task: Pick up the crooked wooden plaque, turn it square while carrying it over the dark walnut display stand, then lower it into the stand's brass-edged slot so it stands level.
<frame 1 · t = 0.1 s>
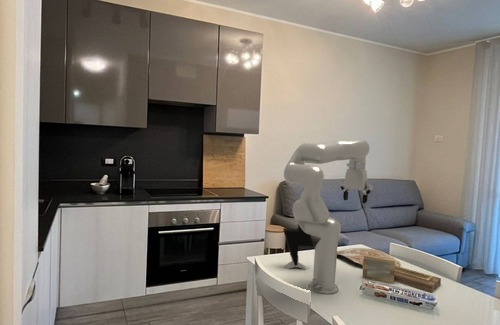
hand: (354, 201, 163), 37 cm above the table, tool pointing down, fingers open, 9 cm apart
poster: (364, 260, 189), on the table
award: (296, 267, 171), on the table
wooden plaque: (377, 279, 160), on the table
display stand: (408, 280, 161), on the table
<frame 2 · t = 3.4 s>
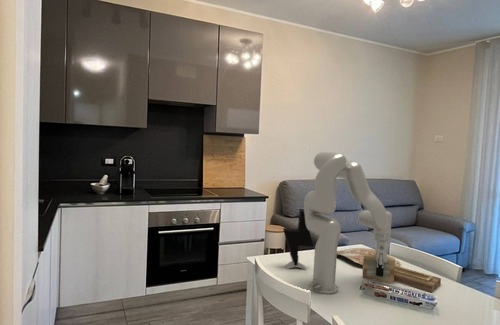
hand: (379, 273, 160), 3 cm above the table, tool pointing down, fingers closed on wooden plaque, 3 cm apart
wooden plaque: (377, 279, 160), on the table, touching gripper
everything else where it was.
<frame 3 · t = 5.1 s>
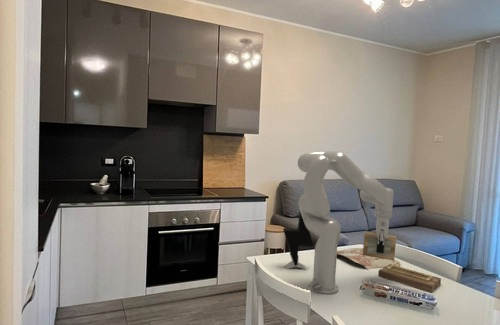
hand: (379, 251, 159), 14 cm above the table, tool pointing down, fingers closed on wooden plaque, 3 cm apart
wooden plaque: (378, 256, 160), point 11 cm above the table, touching gripper
everything else where it was.
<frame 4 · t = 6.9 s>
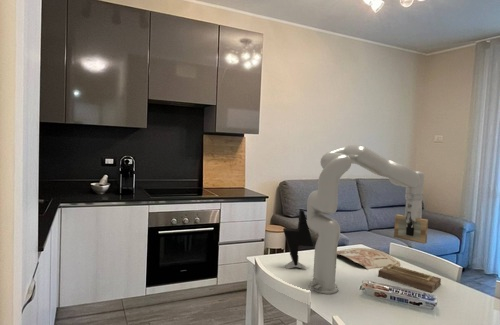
hand: (411, 234, 160), 23 cm above the table, tool pointing down, fingers closed on wooden plaque, 3 cm apart
wooden plaque: (409, 239, 161), point 20 cm above the table, touching gripper
everything else where it was.
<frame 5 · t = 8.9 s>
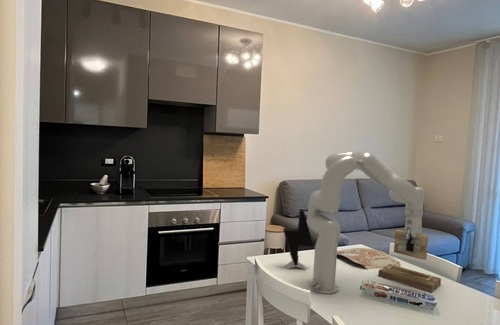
hand: (411, 249, 160), 15 cm above the table, tool pointing down, fingers closed on wooden plaque, 3 cm apart
wooden plaque: (409, 255, 161), point 12 cm above the table, touching gripper
everything else where it was.
when the fingers open (8 cm above the table, at t = 10.4 s): wooden plaque drops 2 cm, resting on display stand.
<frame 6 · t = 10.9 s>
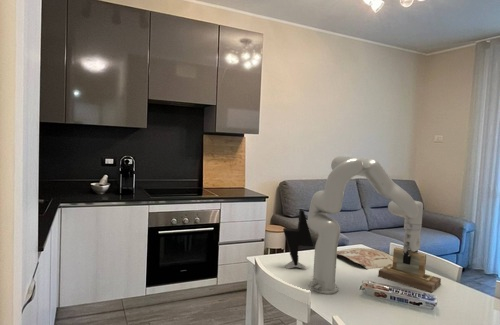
hand: (410, 261, 161), 9 cm above the table, tool pointing down, fingers open, 9 cm apart
wooden plaque: (408, 273, 161), point 3 cm above the table, touching display stand
everything else where it was.
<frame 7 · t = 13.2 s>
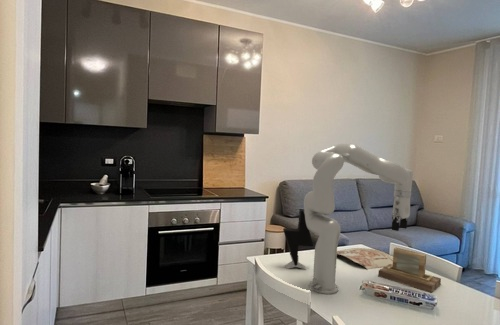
hand: (399, 229, 161), 24 cm above the table, tool pointing down, fingers open, 9 cm apart
nothing on the table moved.
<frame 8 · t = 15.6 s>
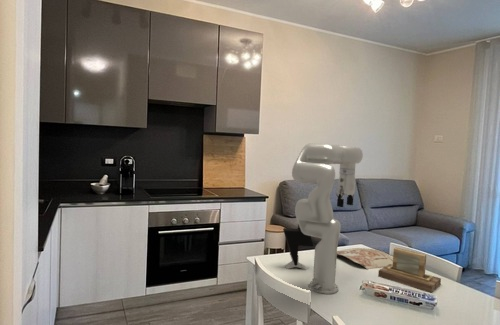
hand: (345, 205, 168), 33 cm above the table, tool pointing down, fingers open, 9 cm apart
nothing on the table moved.
at the end: wooden plaque 0.5 cm off-centre on the display stand, point 3.0 cm above the display stand's base; wooden plaque tilted 0°; the gripper is holding nothing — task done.
